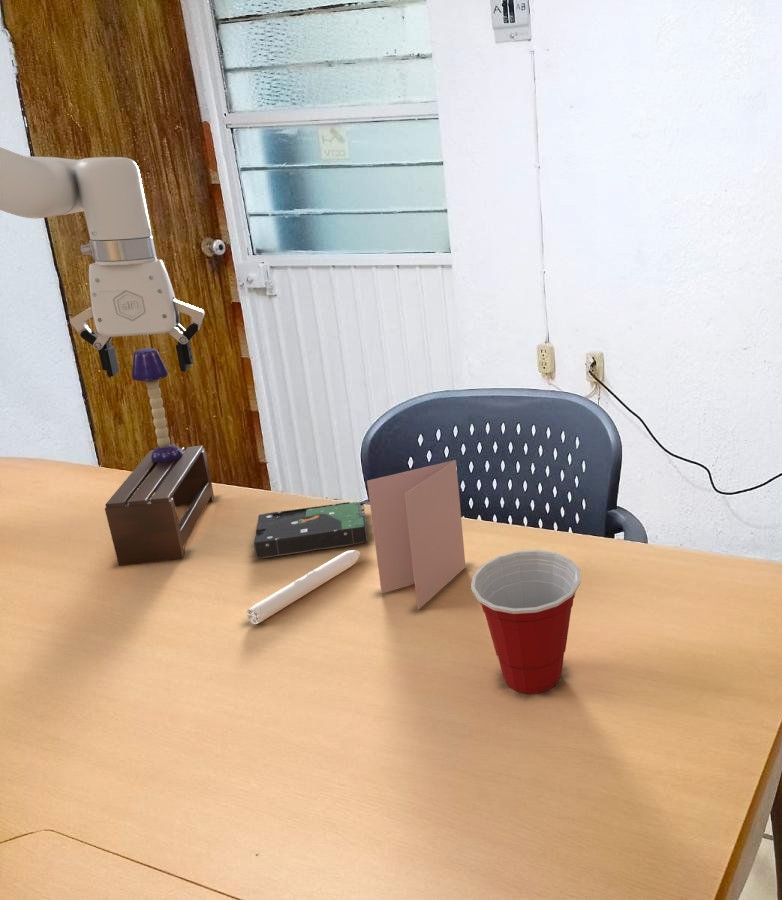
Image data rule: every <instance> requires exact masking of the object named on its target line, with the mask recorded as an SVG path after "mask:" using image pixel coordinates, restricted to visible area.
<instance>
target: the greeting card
mask: <svg viewBox="0 0 782 900" xmlns="http://www.w3.org/2000/svg"><path fill="white" fill-rule="evenodd" d="M458 478H459V477H458V466H457V460H456V459H454V460H449V461H445V462H440V463H436V464H433V465H428V466H424V467H420V468H416V469H410V470H407V471H403V472H398V473H395V474H390V475H386V476H381V477H377V478H373V479H369V480H366V483H367V484H366V485H367V493H368V500H369V507H370V513H371V515H370V516H371V524H372V529H373V537H374V545H375V553H376V561H377V569H378V576H379V584H380V591H381V594H384V593H387V592H391V591H395V590H397V589H401V588H403V587H406V586H409V585H413V584H414V589H415V597H416V598H415V599H416V606H417V610H418V611H419V610H420V609H422V607H423V606H424V605H425V604H426V603H428V602H429V601H430V600H431V599H432V598H433V597H434V596H436V594H437V593H439V592H440V591H441V590H442V589H443V588H444V587H445V586H447V584H449V583H450V582H451V581H453V579H454V578H456V577H457V576H458V575H459V574H460V573H461V572H462V571H463V570H464V569H466V567H467V566H466V555H465V545H464V534H463V521H462V512H461V499H460V490H459V479H458Z"/></svg>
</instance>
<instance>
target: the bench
mask: <svg viewBox="0 0 782 900" xmlns="http://www.w3.org/2000/svg"><path fill="white" fill-rule="evenodd" d="M178 448H179V449H180V450H181V452H182V454H183V456H182V457H181V458H179V459H176V460H174V461H168V462H154V461H152V459H151V456H152V452H153V451H154V450H155V449H151V450H149V451H148V452H147V454H146V455H145V456H144V457H143V458H142V459H141V461H140V462H139V463H138V464H137V466H136V467H135V468H134V469H133V470H132V472H131V473H130V474H129V475H128V476H127V478H126V479H125V480H124V481H123V483H121V485H120V486H119V487H118V488H117V490H116V491H115V492H114V493H113V494H112V496H110V498H108V500H107V502H106V503H105V508H104V511H105V516H106V520H107V523H108V527H109V533H110V537H111V541H112V544H113V548H114V552H115V553H114V554H115V556H116V561H117V564H118V566H128V565H135V564H145V563H146V564H147V563H152V562H153V563H154V562H161V561H162V562H163V561H170V560H179V559H183V558H184V556H185V554H186V551H185V545H186V544H187V541H188V540H189V538H190V536H191V534H192V532H193V531H194V529H195V527H196V525H197V523H198V521H199V520H200V518H201V516H202V513H203V512H204V510H205V509H206V507H207V505H208V503H212V502H214V499H215V495H214V489H213V484H212V477H211V473H210V468H209V463H208V457H207V453H206V448H204V446H203V445H193V446H187V447H186V449H185V446H182V447H178ZM183 505H189V506H188V508H187V509H186V511H185V513H184V514H183V517H182V518H181V520H180V522H179V518H178V514H177V508H176V506H183Z"/></svg>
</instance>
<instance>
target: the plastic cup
mask: <svg viewBox="0 0 782 900" xmlns="http://www.w3.org/2000/svg"><path fill="white" fill-rule="evenodd" d="M581 576H582V575H581V569H580V567H579V566H578V565H577V564H576V563H575V562H574V561H573V560H572V559H571V558H569V557H567V556H565V555H563V554H561V553H558V552H556V551H547V550H541V549H527V550H515V551H512V552H509V553H504V554H501V555H497V556H495V557H493V558H492V559H490V560H489V561H487V562H485V563H483V564H482V565H481V566H480V567H479V568H478V569H477V570H476V571H475V572H474V574H473V575H472V577H471V584H470V589H471V591H472V594H473V595H474V596H475V598H476V599H477V601H478V602H479V604H480V605H481V608H482V611H483V613H484V615H485V618H486V623H487V626H488V630H489V633H490V637H491V640H492V645H493V647H494V650H495V655H496V656H497V659H498V662H499V667H500V669H501V673H502V678H503V679H504V681H505V683H506V685H507V686H508V688H509V689H511V690H513V691H515V692H518V693H521V694H527V695H528V694H540V693H542V692H543V693H544V692H546V691H549V690H550V689H552V688H553V687H555V686H556V685H557V684H558V683H559V680H561V675H562V672H563V665H564V659H565V658H564V657H565V652H566V650H567V642H568V635H569V629H570V628H569V627H570V621H571V613H572V608H573V605H574V599H575V596H576V592H577V590H578V589H579V587H580V586H581V582H582V577H581Z"/></svg>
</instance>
